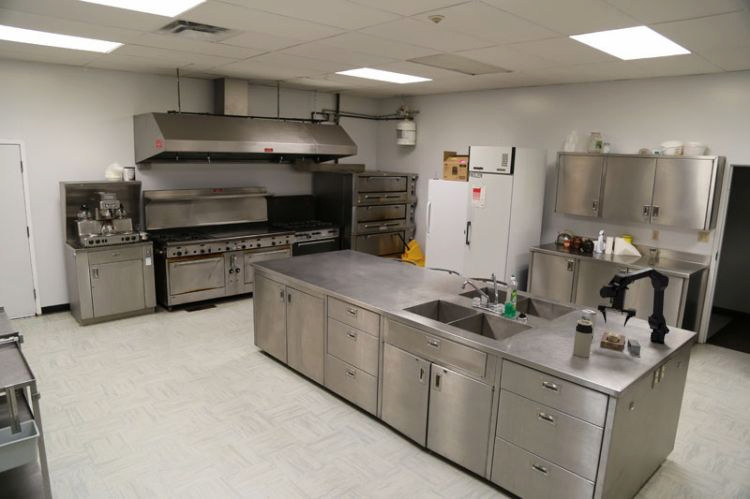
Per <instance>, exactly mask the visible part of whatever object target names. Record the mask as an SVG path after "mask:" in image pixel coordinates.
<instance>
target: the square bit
mask: <svg viewBox="0 0 750 499" xmlns="http://www.w3.org/2000/svg"><path fill="white" fill-rule="evenodd" d="M608 333H609V337H608V341H612V342H618V335H620V334H619V333H613V332H608Z"/></svg>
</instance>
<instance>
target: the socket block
mask: <svg viewBox="0 0 750 499" xmlns="http://www.w3.org/2000/svg"><path fill="white" fill-rule="evenodd" d="M609 333H610V332H607V331H603V333H602V334H603V335H602V337H601V340H600V344H599V346H600V347H601V348H607V349H612V350H617V351H621V352H622V351H623V350H624V345H625V342H626V335H624V334H619V335H618V342H612V341H608V337H609Z"/></svg>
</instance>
